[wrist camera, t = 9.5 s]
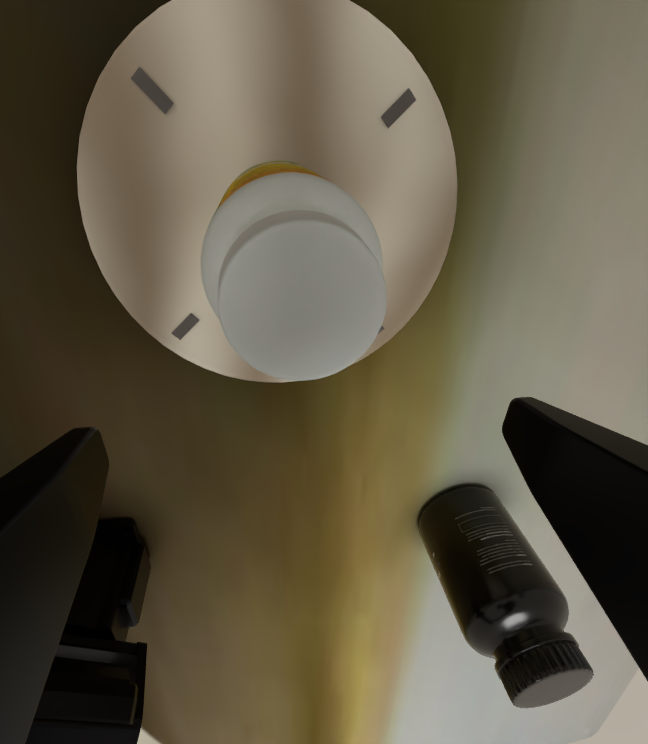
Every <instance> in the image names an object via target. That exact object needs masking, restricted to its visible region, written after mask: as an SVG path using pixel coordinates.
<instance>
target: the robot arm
mask: <svg viewBox="0 0 648 744" xmlns="http://www.w3.org/2000/svg"><path fill="white" fill-rule="evenodd" d="M502 433H503V436H504V438H505V440H506V443H507V445H508V447H509V449H510V451H511V453H512V455H513V457H514V459H515V461H516V463H517V465H518V467H519V469H520V471H521V473H522V475H523V477H524V479H525V481H526V483H527V485H528V487H529V489H530V491H531V493H532V495H533V496H534V498H535V500H536V501H537V503H538V505H539V506H540V508H541V509H542V511H543V513H544V514H545V516H546V518H547V519H548V521H549V522H550V524H551V526H552V527H553V529H554V530H555V532H556V534H557V535H558V537H559V539H560V540H561V542H562V543H563V545H564V547H565V548H566V550H567V552H568V553H569V555H570V556H571V558H572V560H573V561H574V563H575V564H576V566H577V568H578V569H579V571H580V573H581V574H582V576H583V577H584V579H585V581H586V582H587V584H588V585H589V587H590V589H591V590H592V592H593V594H594V595H595V597H596V598H597V600H598V602H599V603H600V605H601V607H602V608H603V610H604V611H605V613H606V615H607V616H608V618H609V619H610V621H611V623H612V624H613V626H614V628H615V629H616V631H617V632H618V634H619V636H620V637H621V639H622V641H623V642H624V644H625V645H626V647H627V649H628V650H629V652H630V653H631V655H632V657H633V658H634V660H635V662H636V663H637V665H638V666H639V668H640V670H641V671H642V673H643V675H644V676H645V678H646V679H647V681H648V445H646V444H643V443H641V442H638V441H636V440H633V439H631V438H629V437H626V436H624V435H621V434H619V433H617V432H614V431H612V430H609V429H607V428H605V427H602V426H600V425H597V424H595V423H593V422H590V421H588V420H585V419H583V418H581V417H578V416H576V415H573V414H571V413H569V412H566V411H564V410H561V409H559V408H556V407H554V406H552V405H549V404H547V403H544V402H542V401H540V400H537V399H535V398H532V397H521V398H515V399H513V400H512V401H511V402H510V404H509V407H508V410H507V413H506V416H505V419H504V422H503V426H502ZM108 469H109V461H108V456H107V453H106V449H105V446H104V443H103V440H102V437H101V433H100V431H99V430H98V429H97V428H95V427H83V428H74V429H72V430H70V431H69V432H67V433H66V434H64V435H63V436H61V437H60V438H58V439H57V440H56V441H54V442H53V443H51V444H50V445H48V446H47V447H45V448H44V449H42V450H41V451H39V452H38V453H36V454H35V455H33V456H32V457H30V458H29V459H28V460H26V461H25V462H23V463H22V464H20V465H19V466H17V467H16V468H14V469H13V470H11V471H10V472H8V473H7V474H5V475H4V476H3V477H1V478H0V744H137V741H138V737H139V733H140V728H141V723H142V716H143V705H144V688H145V671H146V654H147V643H142V642H137V643H130V642H125V641H126V637H127V633H128V629H129V628H131V627H135V626H136V625H137V624H138V623H139V619H140V614H141V610H142V605H143V601H144V596H145V592H146V587H147V583H148V578H149V573H150V569H151V565H150V562H149V558H148V555H147V551H146V548H145V546H144V545H143V544H142V543H141V542H140V539H139V535H138V532H137V528H136V525H135V523H134V521H132V520H130V519H121V520H111V521H100V522H98V517H99V512H100V508H101V503H102V498H103V493H104V488H105V484H106V479H107V474H108Z"/></svg>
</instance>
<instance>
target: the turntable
mask: <svg viewBox="0 0 648 744" xmlns="http://www.w3.org/2000/svg"><path fill="white" fill-rule="evenodd" d="M268 161H288V162H293V163H296V164H299V165H302V166H304V167H306V168H308V169H310V170H311V171H313V172H315V173H317V174H318V175H320V176H322V177H323V178H325V179H327V180H329V181H331V182H332V183H334V184H336V185H337V186H339V187H340V188H342V189H343V190H345V191H346V192H347V193H349V194H350V195H351V196H352V197H353V198H354V199H355V200H356V201H357V202H358V203H359V204H360V205H361V206H362V208H363V209H364V210H365V212H366V213H367V215H368V216H369V218H370V220H371V221H372V223H373V225H374V227H375V229H376V232H377V235H378V238H379V241H380V245H381V250H382V258H383V275H384V279H385V284H386V293H387V303H386V311H385V316H384V319H383V323H382V325H381V328H380V330H379V332H378V334H377V336H376V338H375V340H374V341H373V343H372V344H371V345H370V347H369V348H368V349H367V351H366V352H365V353H364V354H363V355H362V356H361V357H360V358H359V359H357V360H356V361H355V362H354V363H356V362H358V361H360V360H361V359H363V358H365V357H366V356H368V355H370V354H371V353H373V352H374V351H376V350H377V349H378V348H380V347H381V346H382V345H384V344H385V343H386V342H388V341H389V340H390V339H391V338H392V337H393V336H394V335H395V334H396V333H397V332H398V331H399V330H401V329H402V328H403V327H404V326H405V324H406V323H407V322H408V321H409V320H410V318H411V317H412V316H413V315H414V314H415V313H416V311H417V310H418V309H419V307H420V306H421V304H422V303H423V301H424V300H425V298H426V297H427V295H428V294H429V292H430V290H431V288H432V286H433V284H434V282H435V281H436V279H437V277H438V275H439V273H440V270H441V267H442V265H443V262H444V260H445V257H446V255H447V252H448V248H449V244H450V240H451V237H452V233H453V228H454V221H455V214H456V208H457V171H456V159H455V152H454V148H453V143H452V138H451V133H450V129H449V126H448V123H447V120H446V117H445V114H444V111H443V108H442V106H441V103H440V101H439V99H438V97H437V95H436V93H435V91H434V89H433V87H432V85H431V83H430V81H429V79H428V77H427V75H426V74H425V72H424V71H423V69H422V68H421V66H420V65H419V63H418V62H417V60H416V59H415V57H414V56H413V54H412V53H411V52H410V51H409V50H408V49H407V48H406V46H405V45H404V44H403V43H402V42H401V41H400V40H399V39H398V37H397V36H396V35H395V34H394V33H393V32H392V31H391V30H390V29H389V28H387V27H386V26H385V25H384V24H383V23H381V22H380V21H379V20H378V19H377V18H375V17H374V16H373V15H372V14H371V13H369V12H368V11H367V10H365V9H363V8H362V7H360V6H358V5H357V4H355V3H353V2H351V1H350V0H171V1H170V2H168V3H166V4H164V5H162V6H161V7H159V8H158V9H157V10H156V11H154V12H153V13H152V14H151V15H150V16H148V17H147V18H146V19H145V20H143V21H142V22H141V23H140V24H139V25H137V26H136V27H135V28H134V29H133V31H132V32H131V33H130V34H129V35H128V36H127V37H126V39H125V40H124V41H123V42H122V43H121V44H120V46H119V47H118V48H117V49H116V50H115V52H114V53H113V55H112V56H111V58H110V60H109V61H108V63H107V65H106V66H105V68H104V70H103V71H102V73H101V75H100V76H99V78H98V80H97V83H96V85H95V88H94V90H93V93H92V95H91V98H90V100H89V102H88V105H87V108H86V112H85V116H84V120H83V124H82V129H81V133H80V137H79V148H78V159H77V182H78V198H79V203H80V209H81V214H82V220H83V225H84V228H85V231H86V234H87V238H88V241H89V244H90V247H91V250H92V252H93V255H94V257H95V259H96V261H97V263H98V266H99V268H100V270H101V272H102V274H103V276H104V278H105V279H106V281H107V282H108V284H109V286H110V287H111V289H112V291H113V292H114V294H115V296H116V297H117V298H118V300H119V301H120V302H121V303H122V305H123V306H124V307H125V308H126V310H127V311H128V312H129V314H130V315H131V316H132V317H133V318H134V319H135V320H136V321H137V322H138V323H139V324H140V325H141V326H142V327H143V328H144V329H145V330H146V331H147V332H148V333H149V334H150V335H152V336H153V337H154V338H155V339H157V340H158V341H159V342H160V343H162V344H163V345H164V346H165V347H167V348H168V349H170V350H172V351H173V352H175V353H176V354H178V355H179V356H181V357H183V358H184V359H186V360H188V361H190V362H192V363H194V364H196V365H198V366H201V367H203V368H205V369H208V370H211V371H213V372H216V373H219V374H222V375H225V376H230V377H234V378H238V379H242V380H250V381H258V382H291V381H295V380H285V379H279V378H275V377H272V376H269V375H267V374H264V373H262V372H260V371H258V370H256V369H255V368H253V367H252V366H251V365H249V364H248V363H247V362H245V361H244V360H243V359H242V358H241V357H240V356H239V355H238V354H237V353H236V352H235V350H234V349H233V348H232V346H231V345H230V344H229V342H228V341H227V339H226V336H225V334H224V332H223V329H222V327H221V323H220V320H219V319H218V317H217V316H216V315H215V313H214V311H213V309H212V308H211V306H210V304H209V302H208V299H207V297H206V294H205V290H204V287H203V283H202V276H201V252H202V246H203V241H204V237H205V234H206V231H207V228H208V226H209V223H210V221H211V219H212V217H213V215H214V213H215V211H216V209H217V208H218V205H219V203H220V202H221V199H222V198H223V195H224V194H225V192H226V191H227V189H228V188H229V186H230V185H231V184H232V182H233V181H234V180H235V179H236V178H237V177H238V176H239V175H240V174H241V173H243V172H244V171H246V170H247V169H249V168H250V167H252V166H254V165H257V164H260V163H263V162H268ZM354 363H352V364H354ZM352 364H351V365H352ZM349 366H350V365H349Z"/></svg>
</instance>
